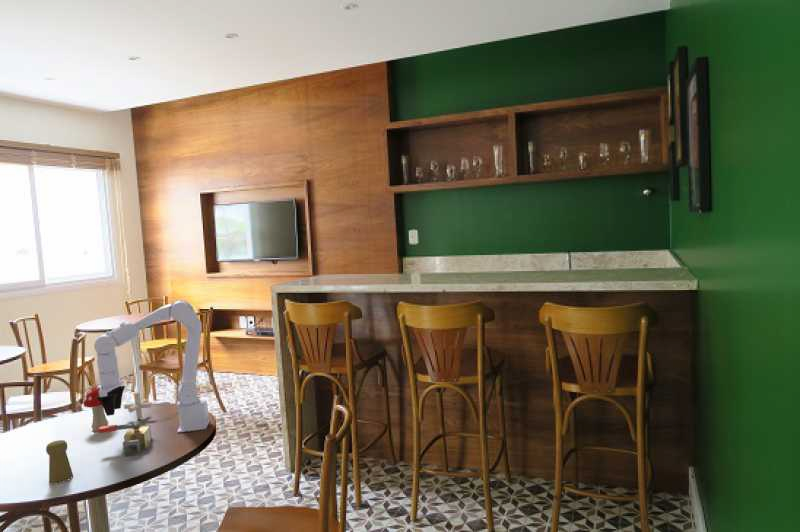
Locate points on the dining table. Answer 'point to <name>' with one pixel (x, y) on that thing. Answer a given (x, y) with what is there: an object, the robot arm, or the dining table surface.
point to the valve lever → (118, 427)
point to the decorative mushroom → (95, 409)
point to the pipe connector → (138, 405)
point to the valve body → (136, 440)
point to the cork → (58, 462)
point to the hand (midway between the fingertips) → (113, 411)
